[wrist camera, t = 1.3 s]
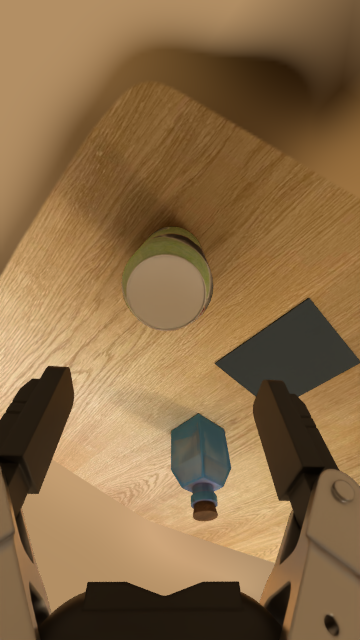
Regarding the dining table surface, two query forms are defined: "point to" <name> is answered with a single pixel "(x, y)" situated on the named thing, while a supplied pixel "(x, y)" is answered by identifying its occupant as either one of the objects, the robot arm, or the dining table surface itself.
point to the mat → (291, 353)
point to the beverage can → (168, 280)
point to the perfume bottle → (200, 463)
